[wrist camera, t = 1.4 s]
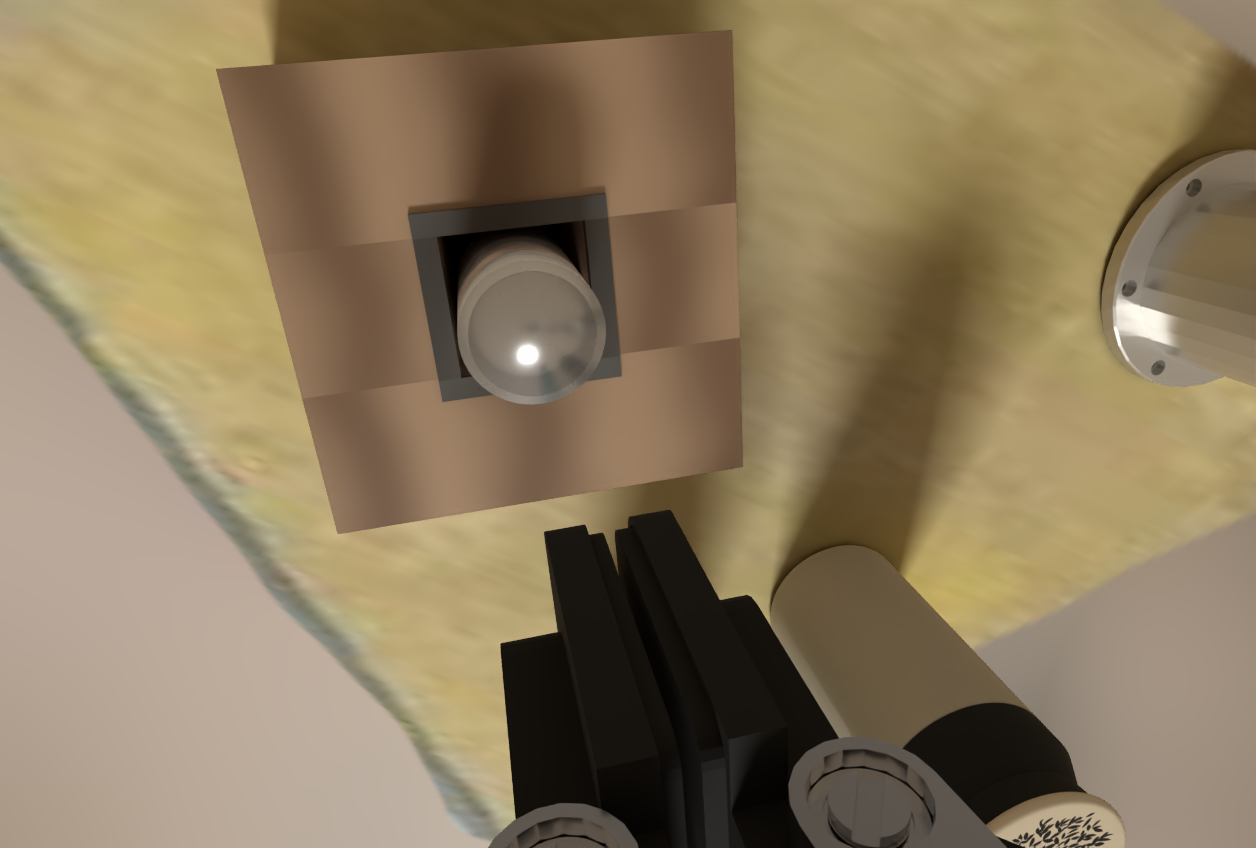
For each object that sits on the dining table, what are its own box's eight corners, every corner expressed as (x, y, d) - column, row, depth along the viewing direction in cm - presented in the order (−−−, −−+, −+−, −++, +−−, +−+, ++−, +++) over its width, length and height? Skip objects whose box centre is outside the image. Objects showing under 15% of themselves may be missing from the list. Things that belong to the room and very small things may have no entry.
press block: (671, 47, 33) (734, 29, 25) (689, 399, 39) (744, 469, 32) (273, 78, 30) (213, 68, 23) (361, 449, 37) (337, 536, 29)
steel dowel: (565, 218, 30) (599, 253, 22) (577, 329, 31) (612, 394, 24) (448, 230, 29) (445, 271, 22) (467, 344, 31) (470, 415, 24)
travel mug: (744, 593, 44) (913, 877, 28) (862, 516, 44) (1103, 759, 28) (803, 678, 48) (984, 977, 31) (913, 608, 47) (1155, 873, 31)
